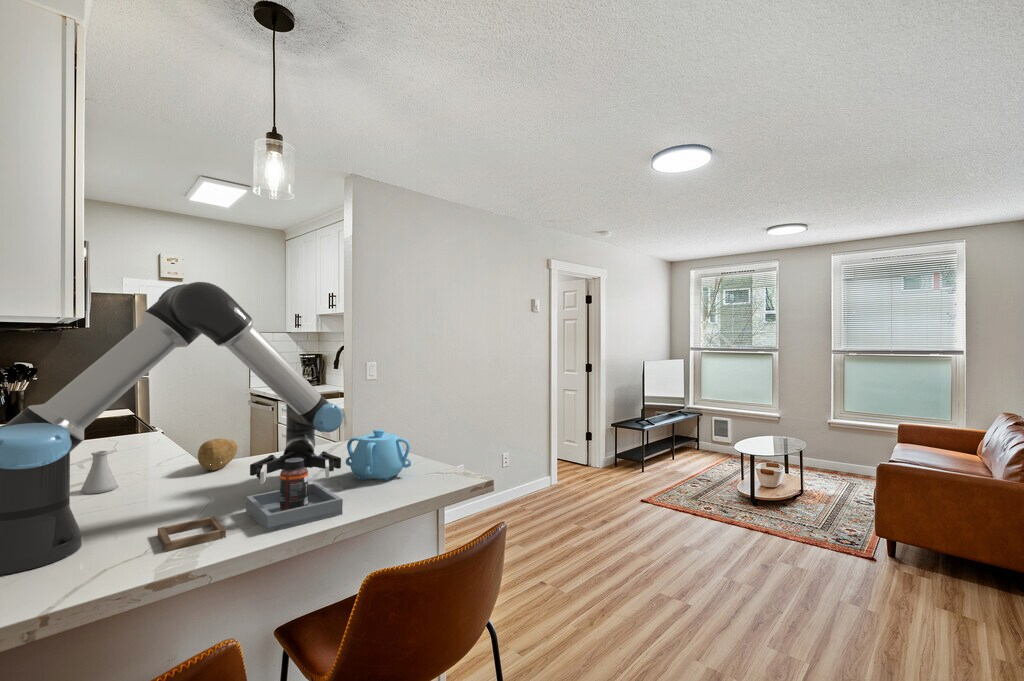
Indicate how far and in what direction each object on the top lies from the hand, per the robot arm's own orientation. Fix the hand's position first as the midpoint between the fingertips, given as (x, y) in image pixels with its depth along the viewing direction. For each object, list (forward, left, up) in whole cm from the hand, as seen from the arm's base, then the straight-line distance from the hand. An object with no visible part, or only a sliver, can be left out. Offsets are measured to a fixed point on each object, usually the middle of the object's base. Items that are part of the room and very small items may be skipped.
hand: (295, 475), depth 110 cm
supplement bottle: (0, +2, -8) cm, 8 cm away
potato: (-4, +55, -9) cm, 56 cm away
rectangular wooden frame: (-20, +1, -9) cm, 22 cm away
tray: (0, +1, -9) cm, 9 cm away
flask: (-32, +50, -9) cm, 60 cm away
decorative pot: (+29, +16, -9) cm, 35 cm away
